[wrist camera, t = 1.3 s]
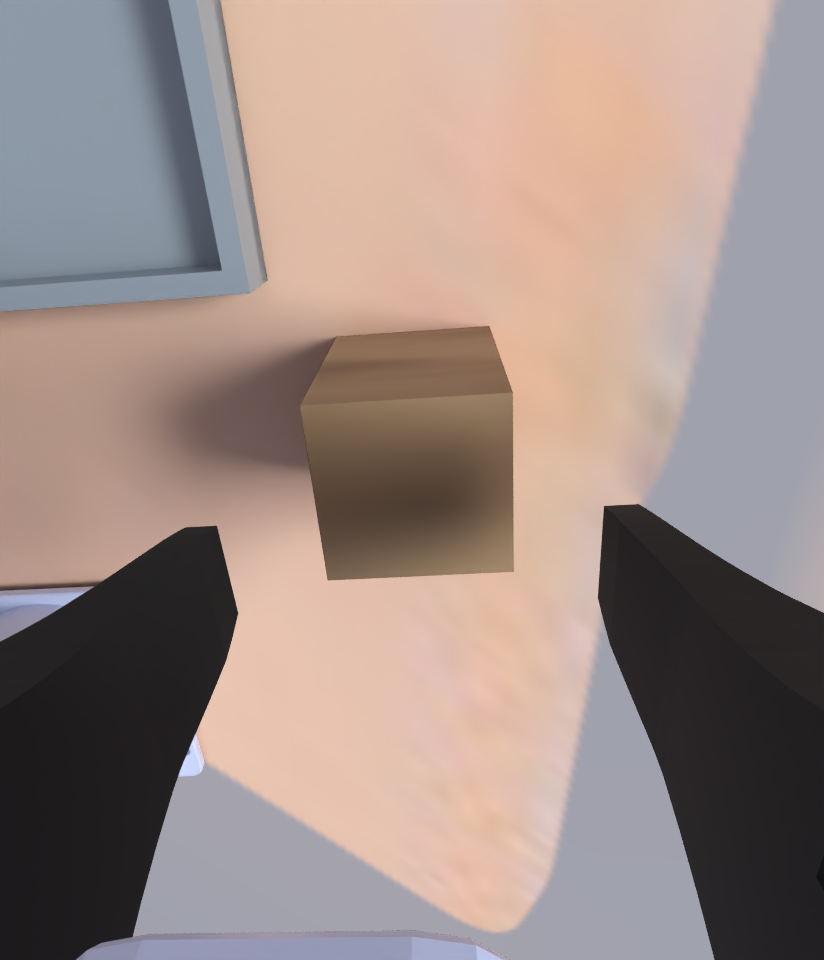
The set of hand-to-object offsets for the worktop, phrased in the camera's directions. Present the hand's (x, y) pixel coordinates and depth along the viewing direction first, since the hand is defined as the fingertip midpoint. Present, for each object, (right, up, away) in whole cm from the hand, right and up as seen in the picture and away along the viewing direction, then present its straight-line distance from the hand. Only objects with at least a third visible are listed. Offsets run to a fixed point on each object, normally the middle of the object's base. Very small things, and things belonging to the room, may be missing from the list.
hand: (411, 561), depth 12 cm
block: (0, +4, +8) cm, 9 cm away
